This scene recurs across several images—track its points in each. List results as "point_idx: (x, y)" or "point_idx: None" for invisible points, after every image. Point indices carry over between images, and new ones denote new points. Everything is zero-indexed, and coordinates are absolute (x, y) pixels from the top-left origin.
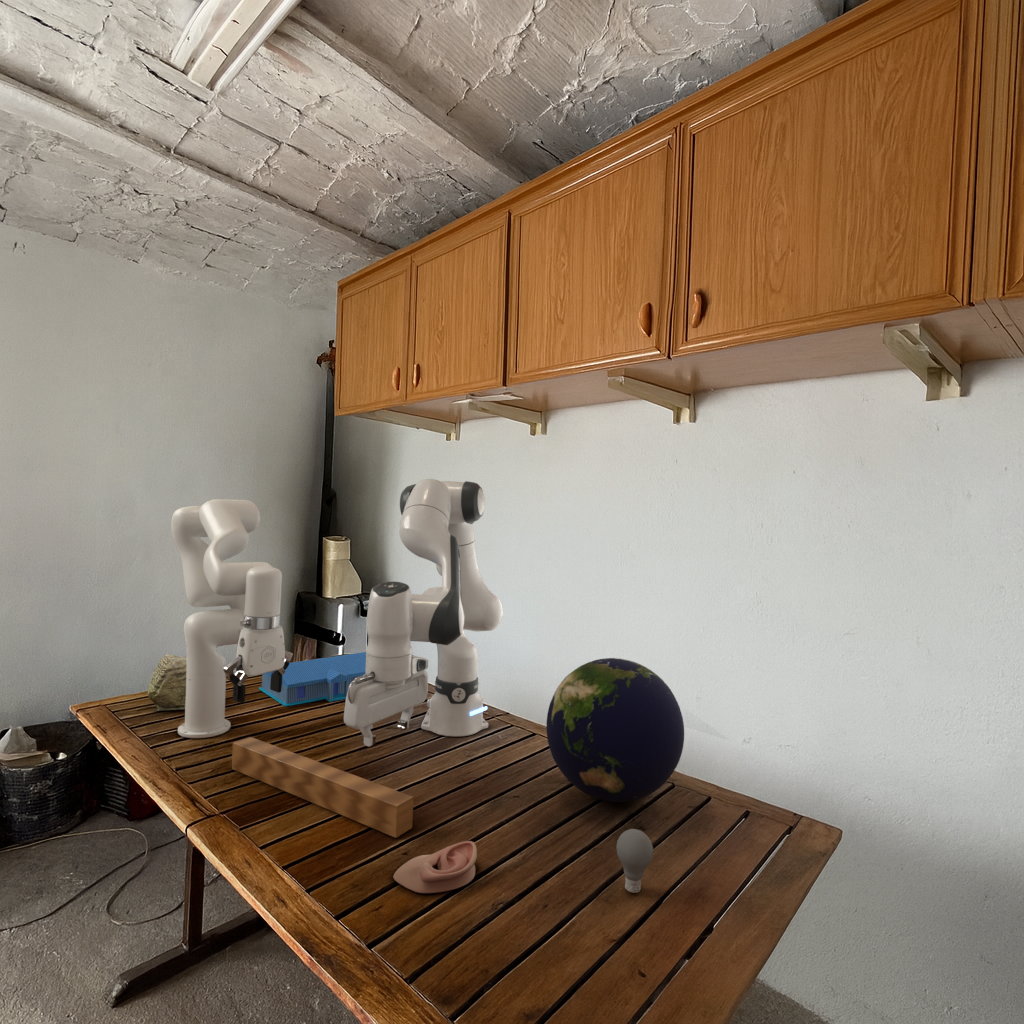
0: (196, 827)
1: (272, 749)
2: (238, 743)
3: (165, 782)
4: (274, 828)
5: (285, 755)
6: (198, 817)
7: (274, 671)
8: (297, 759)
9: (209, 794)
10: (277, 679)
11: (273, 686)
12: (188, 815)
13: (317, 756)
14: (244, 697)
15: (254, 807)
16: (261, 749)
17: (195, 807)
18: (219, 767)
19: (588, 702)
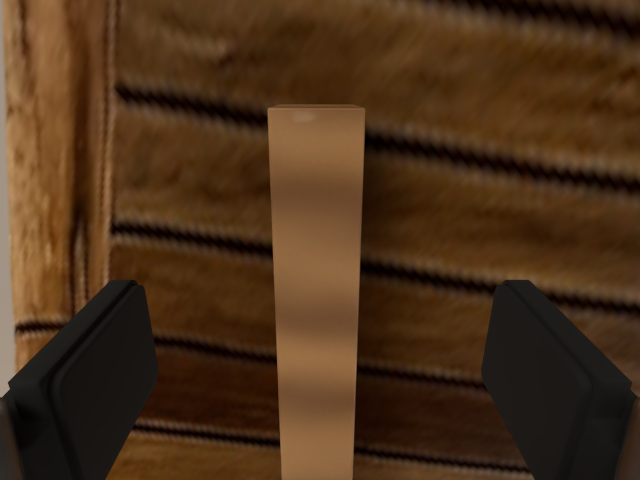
0: (28, 349)
1: (327, 300)
2: (278, 140)
3: (56, 12)
4: (160, 468)
5: (321, 374)
6: (51, 311)
7: (611, 453)
8: (323, 424)
9: (130, 219)
10: (535, 445)
11: (505, 340)
12: (34, 284)
13: (522, 251)
14: (140, 405)
15: (181, 370)
16: (300, 270)
17: (66, 259)
18: (257, 53)
19: None
